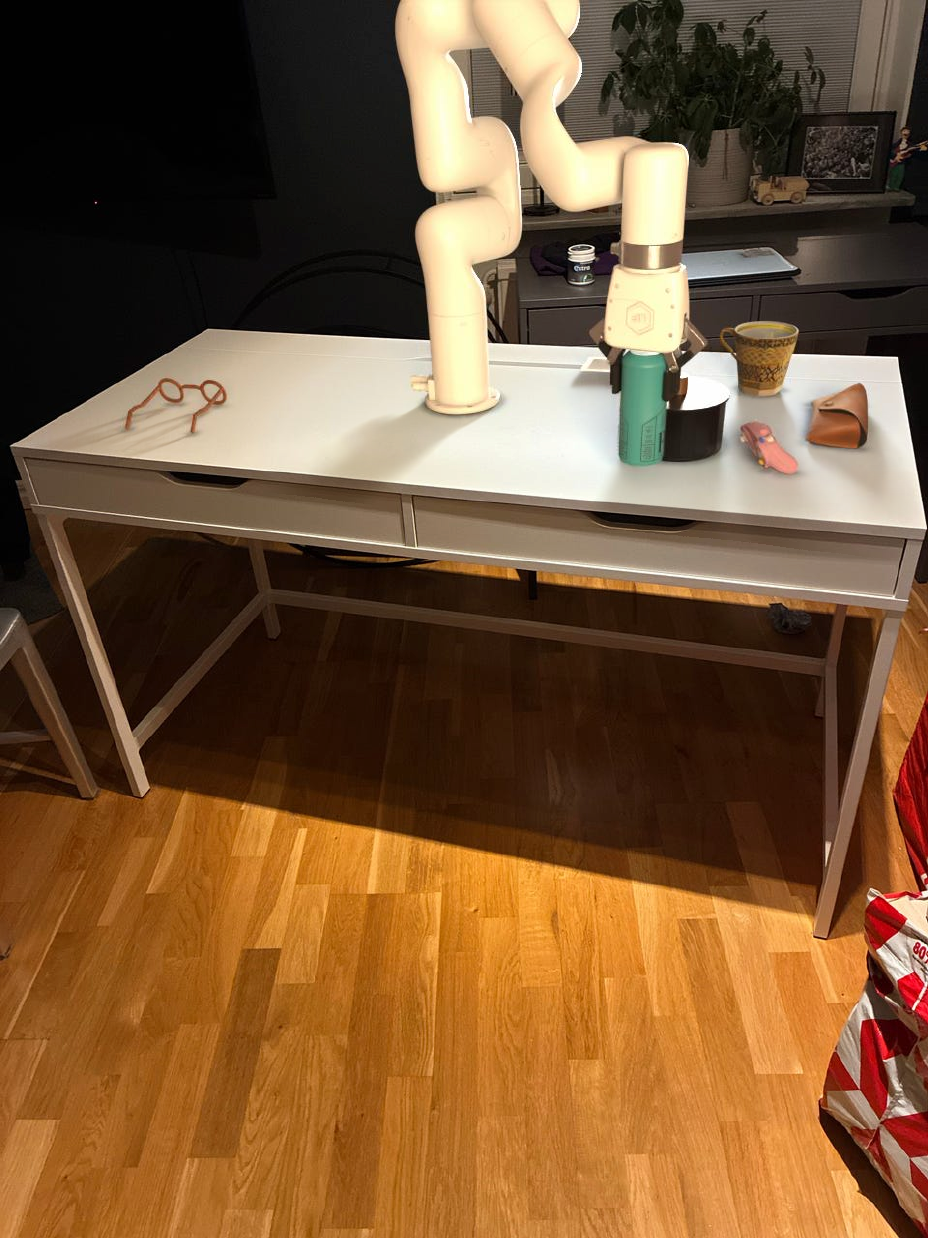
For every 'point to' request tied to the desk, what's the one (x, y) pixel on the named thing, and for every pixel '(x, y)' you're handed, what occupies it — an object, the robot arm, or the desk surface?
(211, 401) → the glasses
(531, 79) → the robot arm
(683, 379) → the lid
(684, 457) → the black short cylinder
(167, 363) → the desk surface
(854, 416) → the sunglasses case
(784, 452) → the pink cartoon race car
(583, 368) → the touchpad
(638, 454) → the beverage bottle
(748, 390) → the ceramic cup
